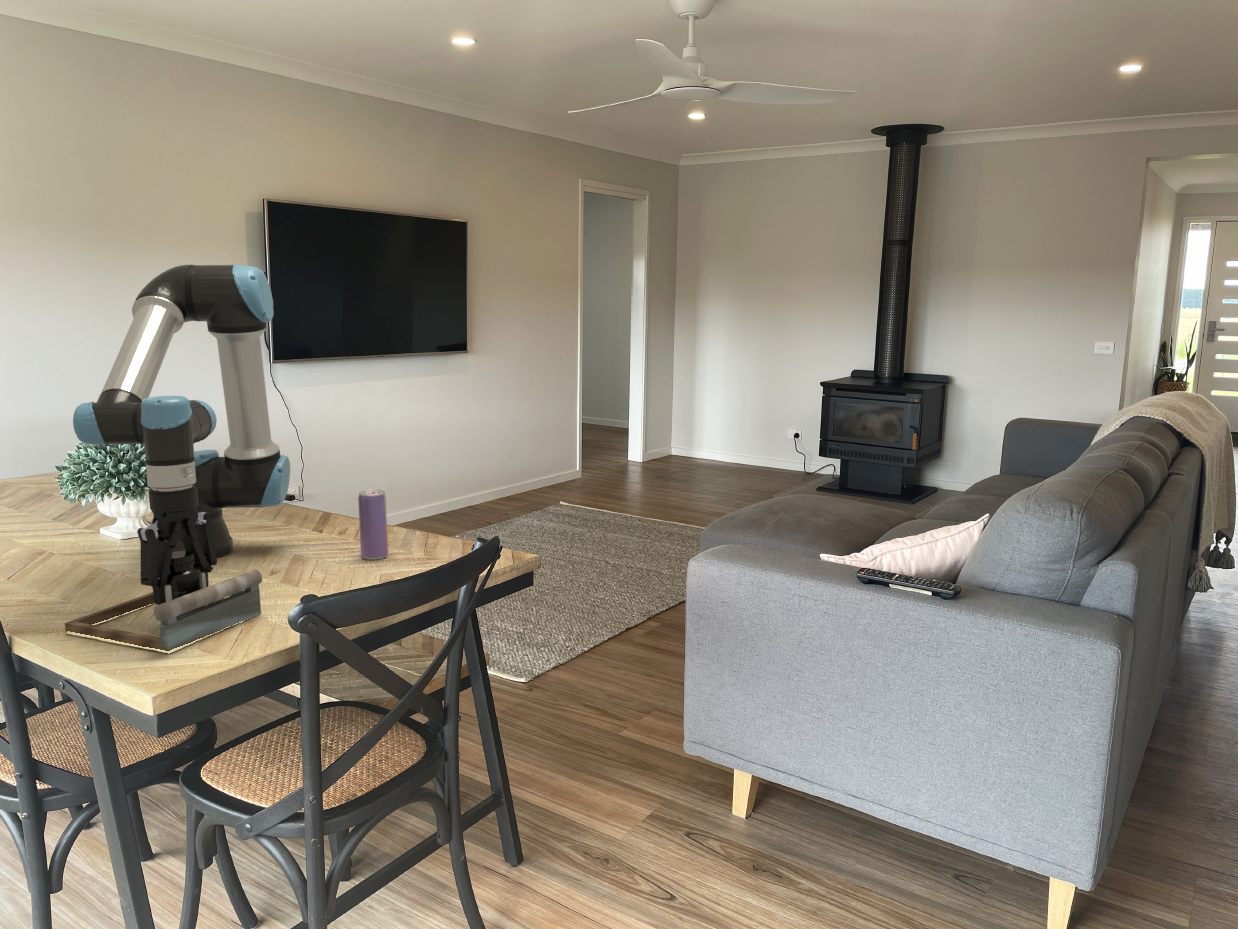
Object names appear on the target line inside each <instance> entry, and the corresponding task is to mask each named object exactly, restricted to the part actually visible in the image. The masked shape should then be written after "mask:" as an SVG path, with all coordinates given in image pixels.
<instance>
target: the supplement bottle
mask: <svg viewBox="0 0 1238 929" xmlns="http://www.w3.org/2000/svg"><path fill="white" fill-rule="evenodd" d="M194 563H195V559H194V553H193V552H191V551H176V552H173V553H172V558H171V563H170V568H169V573H168V578H167V583H166V585H171V592H172V600H174V599H176V598H179V597H182V596H184V595H187V594H190V593H192V592H195V591H198V590H200V589H203V579H202V571H201V570H200V568H198V567H197V566H194ZM202 607H204V606H202ZM199 608H201V607H199ZM199 608H197V609H199ZM194 610H196V609H194ZM194 610H192V611H194ZM189 612H191V611H189ZM189 612H187V613H189ZM184 614H186V613H184ZM184 614H182V615H184ZM179 616H181V615H179ZM177 617H178V616H177Z"/></svg>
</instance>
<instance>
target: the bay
mask: <svg viewBox="0 0 1238 929" xmlns="http://www.w3.org/2000/svg"><path fill="white" fill-rule="evenodd" d="M262 582H263V575H262V573H261V571H260V570H258V569H252V570H249V571H247V572H245V573H244V572H243V573H242V574H239V575H236V576H233V577H230V578H228V579H225V580H222V581H220V582H217V583H215V584H212V585H209V586H208V587H206V588H203V589H200V590H198V591H195V592H192V593H190V594H187V595H184V596H182V597H179V598H176V599H174V600H171V601H168V602H165V603H163V604H160V605H156V606H155V607H154V608H153V614H154V615H153V616H154V618H155V619H156V620H157V621H158V622H160V623H159V624H158V626H159V636H160V637H159V636H153V635H148V634H142V633H137V632H133V631H127V630H121V629H118V628H117V629H116V628H112V627H106V626H102V625H101V626H100V625H97V626H96V625H92V624H95V623H98V622H101V621H104V620H108V619H110V618H113V617H115V616H119V615H122V614H124V613H126V612H130V611H132V610H135V609H138V608H141V607H144V606H147V605H149V604H153V603H154V596H153V591H152V592H149V593H146V594H143V595H141V596H138V597H135V598H133V599H129V600H126V601H123V602H120V603H118V604H115V605H112V606H109V607H107V608H104V609H101V610H98V611H95V612H92V613H90V614H87V615H84V616H81V617H78V618H75V619H72V620H70V621H67V622H65V623H64V627H65V632H66V631H70V632H75V633H80V634H85V635H90V636H95V637H100V638H104V639H111V640H115V641H119V642H124V643H129V644H134V645H138V646H142V647H149V648H155V649H160V650H165V651H170V650H172V649H174V648H177V647H180V646H183V645H185V644H188V643H191V642H193V641H195V640H197V639H200V638H203V637H205V636H207V635H210V634H213V633H215V632H217V631H220V630H222V629H224V628H226V627H229V626H232V625H234V624H236V623H239V622H241V621H244V620H247V619H249V620H251V619H253V618H252V617H254V618H256V617H258V616H260V615H262V609H261V595H260V594H261V593H260V587H259V588H258V586H257V585H258V584H259V585H260V584H261V583H262ZM243 590H244V591H243ZM240 591H242V592H240ZM237 592H239V593H237ZM235 593H237V594H235ZM232 594H234V595H232ZM207 604H208V605H207ZM205 605H206V606H205ZM202 606H204V607H202ZM199 607H201V608H199ZM197 608H199V609H197ZM194 609H196V610H194ZM192 610H194V611H192ZM189 611H191V612H189ZM187 612H189V613H187ZM184 613H186V614H184ZM182 614H184V615H182ZM179 615H181V616H179ZM177 616H178V617H177ZM255 616H256V617H255ZM250 618H251V619H250ZM247 621H248V620H247Z"/></svg>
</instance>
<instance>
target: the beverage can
mask: <svg viewBox="0 0 1238 929" xmlns="http://www.w3.org/2000/svg"><path fill="white" fill-rule="evenodd" d="M385 493H386V492H385V490H382V489H367V490H362V491H359V492H358V498H357V501H358V503H357V504H358V521H359V542H360V543H359V544H360V556H361V558H362V559H363V560H367V561H378V560H383V559H385V558H387V556H388V555H389V544H388V543H389V541H388V540H389V539H388V519H387V518H388V516H387V513H388V512H387V497H386V496H387V495H386V494H385Z"/></svg>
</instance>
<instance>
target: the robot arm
mask: <svg viewBox="0 0 1238 929" xmlns="http://www.w3.org/2000/svg"><path fill="white" fill-rule="evenodd" d="M274 313H275V312H274V298H273V295H272V290H271V286H270V283H269V281H268V279H267V277H266V275H265V274H264V272H263V271H262V270H261V269H259V267H256V266H251V265H241V264H198V265H197V264H181V265H177V266H173V267H172V268H169V269H167V270H165V271H163V272H161V273H160V274H158V275H156V276H155V277H153V278H152V279H151V280H150V281H149V282H148V283H147V284H146V285H145V286H144V287H143V288H142V289H141V290H140V292H139V293H138V294H137V296H136V298H135V300H134V302H133V304H132V307H131V314H132V316H133V319H132V321H131V324H130V326H129V328H128V330H127V333H126V335H125V337H124V340H123V342H122V345H121V347H120V350H119V351H118V354H117V356H116V358H115V360H114V363H113V365H112V367H111V369H110V372H109V374H108V376H107V379H106V381H105V384H104V385H103V387H102V390H101V392H100V395H99V397H98V399H97V400H96V402H94V401H90V402H83V403H80V404H79V405H77V407H76V408H75V410H74V412H73V417H72V426H73V430H74V433H75V435H76V438H77V439H78V440H79V441H80V442H81V443H83V444H87V445H96V446H97V445H98V446H100V445H101V446H113V445H115V446H116V445H143V446H144V455H145V456H144V457H145V468H146V484H147V487H149V488H150V489H149V490H148V501H149V508H150V509H149V510H150V511H151V512H152V514H153V517H152V521H151V524H150V525H147V527H139V528H138V529H137V531H136V533H137V535H138V539H139V541H140V584H141V585H142V586H146V587H147V586H148V587H151V588H152V592H153V596H154V603H155V604H154V605H156V606H157V605H160V604H163V603H165V602H168V601H171V600H172V592H171V585H166V583H167V578H168V573H169V568H170V563H171V558H172V553H173V552H176V551H191V552H193V553H194V559H195V563H194V566H197V567H198V568H200V570H201V571H202V579H203V588H206V587H209V586H210V585H209V584H210V583H209V573H211V572H212V571H213V566H216V565H217V564H218V559H217V558H221V557H224V556H227V555H229V554H231V553H232V552H233V551H234V549H235V548H234V539H233V538H232V536H231V534H230V531H229V529H228V526H227V524H226V522H225V519H224V515H223V509H230V508H231V509H233V508H235V509H236V508H261V509H263V508H268V507H278V506H280V505H281V504H283V503H284V501H285V499H286V497H287V494H288V490H289V486H290V478H291V463H290V458H289V456H288V455H285V454H282V455H281V450H280V446H279V445H278V444H277V443H275V442H274V441H273V440H272V435H271V434H272V433H271V427H270V426H271V425H270V417H269V415H270V414H269V406H268V398H267V387H266V379H265V370H264V364H263V363H264V360H263V352H262V343H261V336H262V335H263V334H264V332H265V331H266V330H267V323H268V322H269V323H270V322H271V321H272V319H273V318H274ZM188 322H206V326H207V332H208V333H209V334H210V335H211V336H213V337H214V338H216V342H217V349H218V358H219V365H220V373H221V381H222V389H223V397H224V398H223V399H224V405H225V412H226V420H227V428H228V434H229V435H228V436H229V446H227V448H226V449H225V450H224V451H223V456H219V455H220V454H219V452H218V450H217V449H204V450H203V449H201V450H196V451H195V447H194V446H195V445H194V444H195V443H200V442H201V441H204V440H206V439H207V438H209V436H210V435H211V434H212V433H213V432H214V431H215V429H216V427H217V422H218V421H217V420H218V419H217V415H216V413H215V412H216V411H214V409H213V408H212V407H211V406H210V405H209V404H208V403H207V402H205V401H203V400H199V399H192V400H190V399H189V398H188V397H185V396H184V395H183V396H182V395H162V396H161V395H160V396H150V395H151V392H152V390H153V386H154V384H155V382H156V380H157V378H158V375H159V372H160V370H161V368H162V364H163V361H164V359H165V356H166V354H167V351H168V349H169V348H170V345H171V341H172V340H173V337H174V334H176V333H178V332H179V331H180V330H182V327H183V326H184V324H185V323H188ZM207 605H208V604H207ZM205 606H206V605H205Z"/></svg>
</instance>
